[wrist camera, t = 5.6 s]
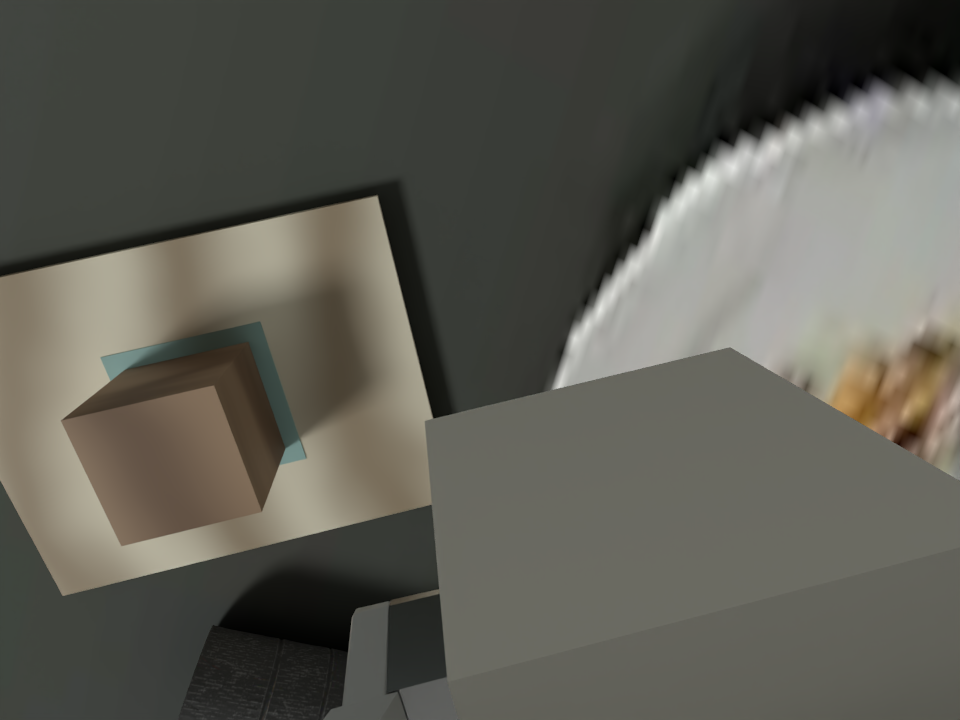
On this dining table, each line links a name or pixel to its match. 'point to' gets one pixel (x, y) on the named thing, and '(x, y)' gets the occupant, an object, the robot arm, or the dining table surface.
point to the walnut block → (179, 443)
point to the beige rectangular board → (207, 326)
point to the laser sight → (263, 679)
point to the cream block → (692, 555)
